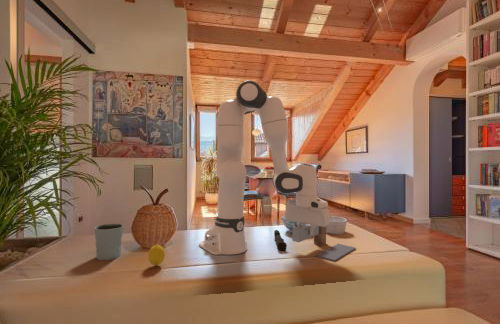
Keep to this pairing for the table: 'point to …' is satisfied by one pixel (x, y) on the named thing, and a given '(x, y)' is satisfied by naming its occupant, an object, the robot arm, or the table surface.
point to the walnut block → (320, 236)
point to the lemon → (156, 255)
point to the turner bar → (303, 232)
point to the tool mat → (335, 252)
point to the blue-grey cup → (108, 241)
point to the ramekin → (336, 225)
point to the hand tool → (279, 241)
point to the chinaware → (290, 224)
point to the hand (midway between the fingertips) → (306, 233)
